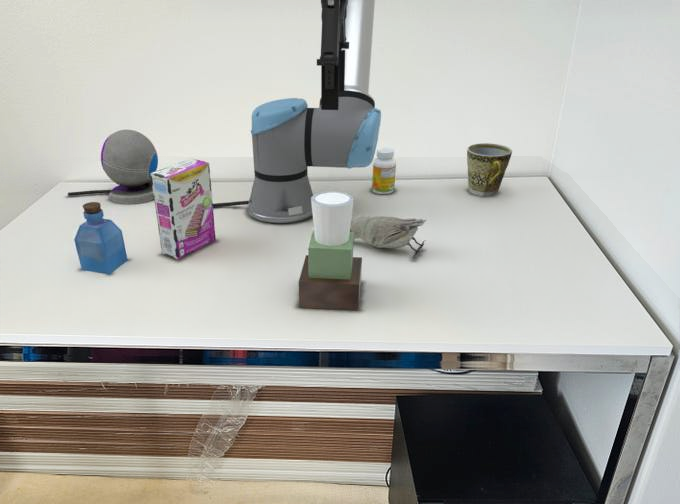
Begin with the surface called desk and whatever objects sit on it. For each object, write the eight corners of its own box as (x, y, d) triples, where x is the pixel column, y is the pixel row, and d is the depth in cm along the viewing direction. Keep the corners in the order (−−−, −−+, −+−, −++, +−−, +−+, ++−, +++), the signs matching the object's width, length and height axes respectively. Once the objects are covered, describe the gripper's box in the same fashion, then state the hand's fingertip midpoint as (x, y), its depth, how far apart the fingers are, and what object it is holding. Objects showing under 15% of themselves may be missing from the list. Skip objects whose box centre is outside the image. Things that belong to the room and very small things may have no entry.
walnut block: (299, 307, 104) (298, 281, 101) (306, 279, 112) (305, 254, 109) (358, 310, 103) (359, 284, 100) (361, 282, 111) (362, 257, 108)
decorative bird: (351, 236, 127) (352, 202, 123) (426, 251, 121) (430, 215, 117) (341, 247, 123) (341, 211, 119) (418, 262, 118) (422, 225, 113)
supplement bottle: (370, 187, 151) (371, 147, 145) (391, 186, 151) (394, 146, 146) (373, 195, 147) (376, 154, 141) (396, 194, 147) (399, 153, 141)
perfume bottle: (127, 260, 120) (115, 201, 113) (109, 274, 115) (96, 213, 108) (100, 256, 122) (87, 197, 115) (81, 269, 117) (66, 209, 110)
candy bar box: (179, 261, 119) (167, 178, 110) (161, 255, 122) (148, 173, 112) (218, 241, 127) (210, 161, 117) (200, 235, 129) (191, 156, 120)
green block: (308, 278, 102) (308, 247, 99) (313, 259, 108) (312, 230, 105) (350, 280, 101) (351, 249, 98) (353, 261, 107) (354, 231, 104)
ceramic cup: (456, 185, 151) (461, 144, 145) (495, 183, 152) (502, 142, 146) (473, 205, 141) (480, 161, 135) (516, 202, 141) (524, 159, 136)
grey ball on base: (121, 183, 156) (109, 122, 147) (169, 185, 154) (160, 123, 145) (100, 202, 145) (86, 137, 136) (152, 204, 144) (141, 139, 135)
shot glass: (349, 249, 98) (350, 207, 94) (307, 245, 100) (306, 204, 96) (355, 231, 104) (356, 191, 100) (315, 228, 105) (315, 189, 101)
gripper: (355, -49, 81) (351, 118, 94) (364, -55, 101) (359, 83, 114) (299, -48, 82) (302, 118, 94) (318, -54, 102) (319, 83, 115)
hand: (333, 99), depth 104 cm, fingers open, 13 cm apart
